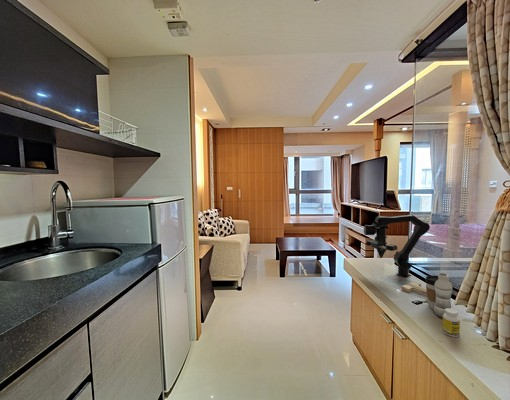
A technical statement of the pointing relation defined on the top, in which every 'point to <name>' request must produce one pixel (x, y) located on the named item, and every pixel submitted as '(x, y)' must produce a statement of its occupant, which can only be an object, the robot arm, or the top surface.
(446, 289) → the plastic bottle
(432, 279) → the coffee cup
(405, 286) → the oak T block
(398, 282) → the grey flat panel
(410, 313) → the top surface
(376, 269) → the top surface
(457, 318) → the supplement bottle
